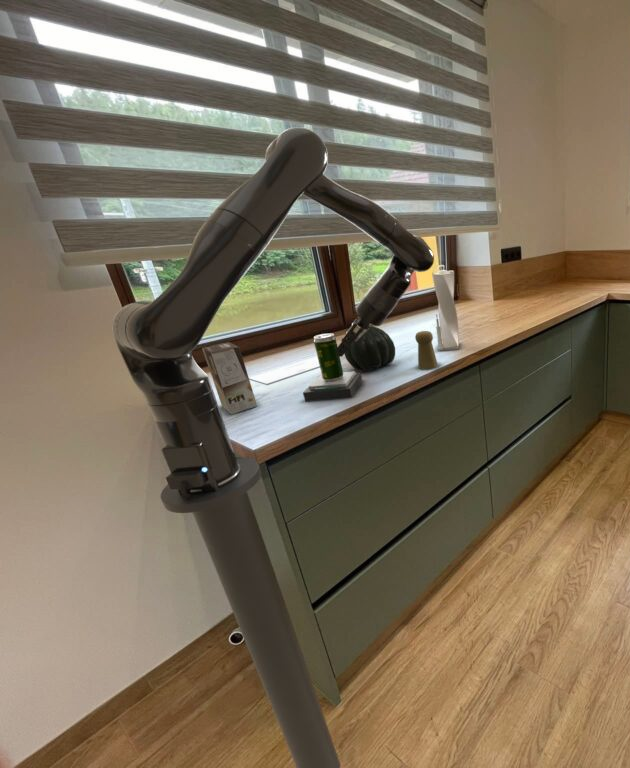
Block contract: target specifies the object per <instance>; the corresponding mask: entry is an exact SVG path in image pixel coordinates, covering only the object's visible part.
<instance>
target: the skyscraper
mask: <svg viewBox="0 0 630 768" xmlns="http://www.w3.org/2000/svg"><path fill="white" fill-rule="evenodd" d="M440 267H442V269H441V270H438V272H436V273H435V271H436V270H437V269H438V268H440ZM445 268H446V267H445V265H444V264H439V265H436V266H435V267H434V268H433V270H432V273H431V275H432V281H433V286H434V290H435V294H436V298H437V302H438V307H437V308H438V314H437V313H435V317H436V319H435V320H436V326H435V329H436V336H437V337H436V339H437V347H438V348H437V349H438V350H437V351H438V352H445V351H455V350H456V351H457V350H459V347H460V341H459V339H460V338H459V337H460V335H459V334H460V333H459V319H458V312H457V308H456V303H455V299H454V297H455V271H454V270H451V269H450V270H447V269H445Z"/></svg>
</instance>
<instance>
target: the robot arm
mask: <svg viewBox="0 0 630 768" xmlns="http://www.w3.org/2000/svg"><path fill="white" fill-rule="evenodd" d="M328 163H329V154H328V150H327V147H326V145H325V142H324V141H323V139H322V137H320V136H319V135H318V134H317V133H316V132H314V131H312V130H311V129H309V128H306V127H299V126H298V127H296V126H295V127H289V128H287V129H285V130H283V131H282V132H281V133H280V134H279V135H278V136H277V137H276V138H275V139H274V140H273V141H272V142H271V143H270V144H269V145H268V147H267V148H266V151H265V162H264V163H263V164H262V165H261V167H260V168H259V170H258V171H256V172H255V173H254V174H253V175H252V176H251V177H250V178H248V179H247V180H246V181H245V182H244V183H242V184H241V185H240V186H239V187H238V188H237V189H235V190H234V191H233V192H231V194H230V195H228V196H227V197H226V199H224V200H223V201H222V202H221V203H220V204H219V205H218V206H217V207H216V208H215V209H214V211H213V212H212V213H211V214H210V215H209V217H208V218H207V219H206V220H205V221H204V222H203V224H202V225H201V227H200V228H199V229H198V231H197V233H196V235H195V237H194V239H193V241H192V244H191V246H190V249H189V253H188V256H187V259H186V262H185V264H184V266H183V269H181V271H180V272H179V274H178V275H177V277H176V278H175V279H174V280H173V281H172V282H171V283H170V284H169V285H168V286H167V287H166V289H164V291H163V292H161V293H160V294H159V296H157V297H156V298H155V299H154V300H153V301H151V300H140V301H135V302H131V303H128V304H126V305H124V306H122V307H121V308H120V309H119V310H118V311H117V312H116V314H115V315H114V318H113V320H112V325H111V328H112V329H111V330H112V335H113V338H114V341H115V344H116V347H117V349H118V351H119V353H120V356H121V359H122V360H123V362H124V365H125V367H126V369H127V371H128V374H129V375H130V377H131V379H132V382H133V384H134V385H135V386H136V387H137V389H138V390H139V391H140V393H141V394H142V395H143V397H144V399H145V402H146V404H147V407H148V409H149V412H150V414H151V417H152V419H153V422H154V424H155V427H156V429H157V431H158V434H159V436H160V439H161V441H162V444H163V445H164V446H163V447H162V448H161V453H162V456H163V458H164V460H165V463H166V466H167V467H168V470H169V474H168V475H167V476H166V477H165V479H166V483H167V485H169V487H170V489H171V490H173V489H178V492H179V494H180V495H182V496H183V497H185V498H186V499H190V498H191V495H190V494H200V493H210V492H216V491H217V490H218V489H219V488H221V487H223V486H225V485H227V484H228V483H230V482H232V481H233V480H234V479H236V478H237V477H238V476H239V474H240V472H241V469H240V466H239V464H238V462H237V459H236V453H235V451H234V448H233V445H232V441H231V439H230V435H229V433H228V429H227V427H226V424H225V421H224V419H223V415H222V413H221V410H220V407H219V404H218V400H217V398H216V394H215V392H214V389H213V385H212V383H211V380H210V378H209V376H208V374H207V373H206V371H204V370H203V369H202V368H201V367H200V366H199V365H198V364H197V362H196V360H195V359H194V357H193V355H192V352H193V351H194V350H195V349H196V348H197V346H198V345H199V344H200V342H201V340H203V337H204V336H205V334H206V333H207V330H208V328H209V327H210V325H211V323H212V322H213V320H214V318H215V316H216V315H217V313H218V311H219V310H220V308H221V306H222V305H223V303H224V302H225V300H226V299H227V298H228V296H229V295H230V294H231V293H232V291H233V290H234V289H235V287H236V286H237V285H238V284H239V282H240V281H241V280H242V279H243V278H244V276H245V275H246V273H247V272H248V271H249V270H250V268H251V267H252V266H253V265H254V264H255V263H256V261H257V260H258V258H259V257H260V256H261V254H262V253H263V252H264V251H265V249H266V248H267V247H268V246H269V244H270V242H271V241H272V239H273V238H274V236H275V235H276V233H277V232H278V231H279V229H280V227H281V226H282V224H283V223H284V221H285V219H287V216H288V215H289V213H290V211H291V210H292V207H294V204H295V203H296V202H297V201H298V199H299V198H300V197H301V196H304V197H306V198H308V199H310V200H312V201H313V202H315V203H317V204H319V205H320V206H323V207H324V208H326V209H328V210H329V211H332V212H333V213H335V214H336V215H338V216H339V217H341V218H343V219H345V220H346V221H348V222H349V223H351V224H352V225H354V226H355V227H356V228H358V229H359V230H361V231H362V232H364V233H365V234H366V235H367V236H368V237H370V238H372V240H374V241H376V242H377V243H378V244H379V245H381V246H382V247H384V248H386V249H387V250H388V251H389V252H390V253H391V254H393V255H392V257H391V260H390V261H389V264H388V266H387V268H386V269H385V270H384V271H383V272H382V274H381V276H379V278H378V279H377V281H376V282H375V283H374V284H373V285H372V286H371V287H370V288H369V289H368V290H367V292H366V293H365V295H364V296H363V297H362V298H361V300H360V301H359V303H357V305H356V306H355V312H356V313H357V315H359V316H358V317H357V318H356V319H354V320H353V322H352V323H351V326H349V328H348V329H347V331H346V333H345V336H343V338H341V340H340V341H341V343H340V344H339V345H337V349H336V350H335V353H336V354H337V355H338V356H340V358H342V357H343V356H345V354H344V353H345V352H346V351H347V350H348V348H349V347H351V346H352V345H353V344H354V342H355V341H358V340H359V338H360V337H361V336H362V335H363V334H365V333H366V331H367V330H368V329H369V328H370V327H371V326H374V327H380V326H381V325H383V323H384V322H385V321H386V319H387V318H388V317H389V315H390V314H391V313H392V312H393V310H394V309H395V308H396V306H397V305H398V303H399V302H400V299H402V297H403V296H404V295H405V293H406V292H407V291H408V289H409V288H410V286H411V284H412V275H413V273H414V272H418V273H424V272H427V271H429V270H430V269H431V268H432V267H433V265H434V262H435V255H434V252H433V250H432V248H431V247H430V246H429V244H428V243H427V242H426V241H425V240H424V238H422V237H421V236H419V235H414V234H412V233H411V231H409V230H408V229H407V228H406V227H405V226H404V225H403V223H401V221H399V220H398V219H397V218H396V217H395V216H394V215H392V214H391V213H390V212H388V210H386V209H385V208H384V207H383V206H381V205H380V204H378V203H377V202H375V201H373V200H371V199H369V198H367V197H366V196H363V195H361V194H359V193H356V192H353V191H351V190H349V189H347V188H345V187H343V186H341V185H340V184H338V183H337V182H335V181H334V180H333V179H331V178H329V177H328V176H327V175H325V172H326V170H327V167H328ZM370 325H371V326H370Z"/></svg>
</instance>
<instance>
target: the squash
mask: <svg viewBox="0 0 630 768" xmlns="http://www.w3.org/2000/svg"><path fill="white" fill-rule="evenodd" d="M369 325H370V326H371V327H370V328H369V329H368V330H367V331H366V333H365V334H363V335H362V336H361V337H360V338H359V340H358V341H355V342H354V344H353V345H352V346H351V347H349V348H348V350H347V351H346V352H345V353H344V357H345V359H346V361H347V362H348V364H349V365H350V366H351V367H353V368H354V369H355V370H357V371H366V372H369V371H372V370H374V369H375V368H379V367H381V366H382V367H384V366H388V365H390V364H391V363H393V361H394V360H395V358H396V346H395V343H394V341H393V340H392V338H391V337H390V335H389V334H388V333H387V332H386V331H385V330H383V329H381V328H379V327H378V326H375V325H372V324H369Z"/></svg>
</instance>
